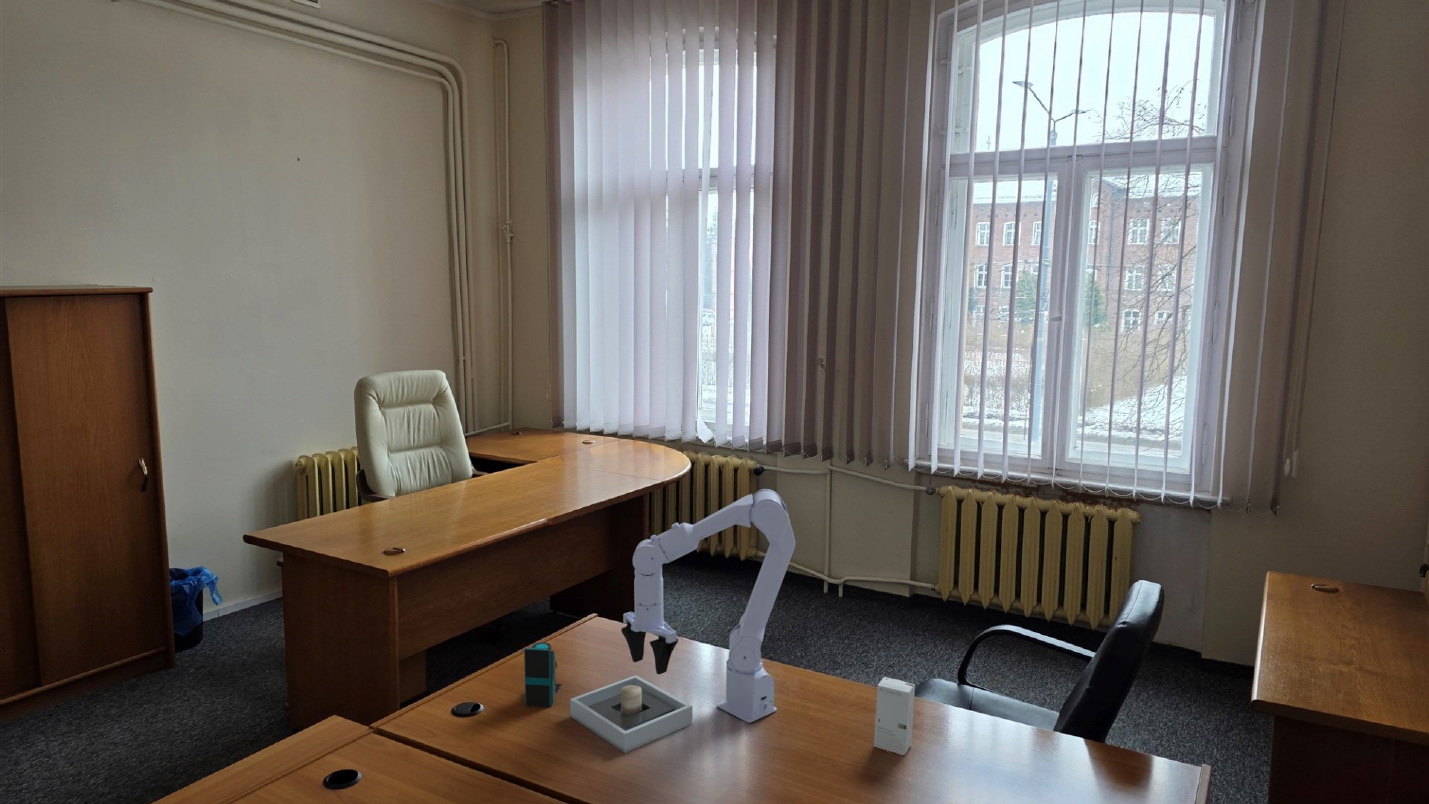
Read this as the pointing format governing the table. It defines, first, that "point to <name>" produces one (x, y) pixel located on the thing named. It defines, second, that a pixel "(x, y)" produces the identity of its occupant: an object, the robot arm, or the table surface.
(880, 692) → the skincare box
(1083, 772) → the table surface
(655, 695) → the tray
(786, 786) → the table surface
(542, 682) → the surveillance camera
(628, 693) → the peg
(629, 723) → the plate
